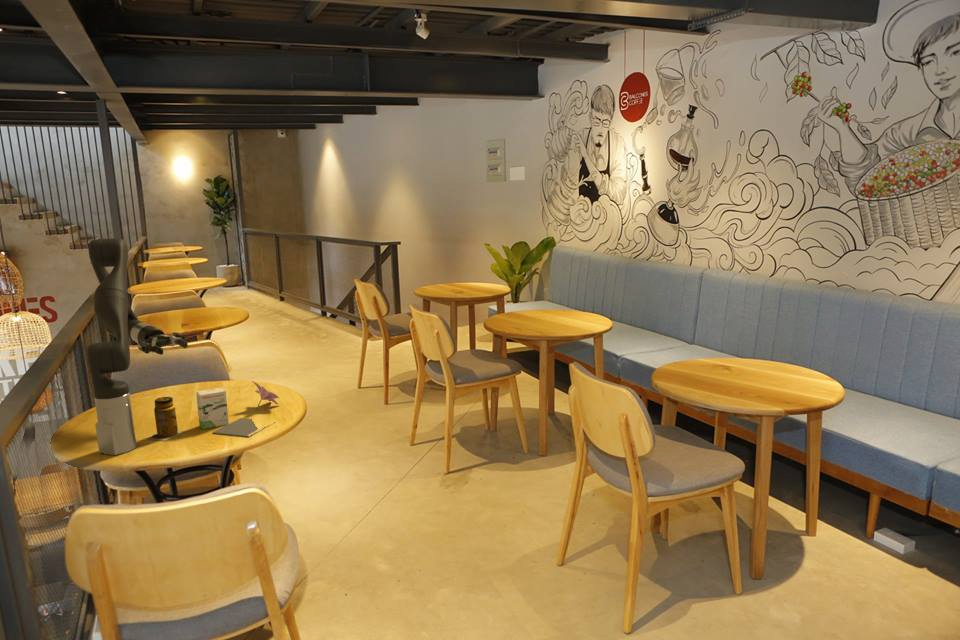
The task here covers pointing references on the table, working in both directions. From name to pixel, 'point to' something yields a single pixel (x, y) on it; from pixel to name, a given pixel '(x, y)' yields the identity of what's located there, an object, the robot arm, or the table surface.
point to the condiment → (165, 419)
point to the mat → (239, 428)
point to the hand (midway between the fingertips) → (174, 348)
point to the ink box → (212, 408)
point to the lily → (265, 394)
